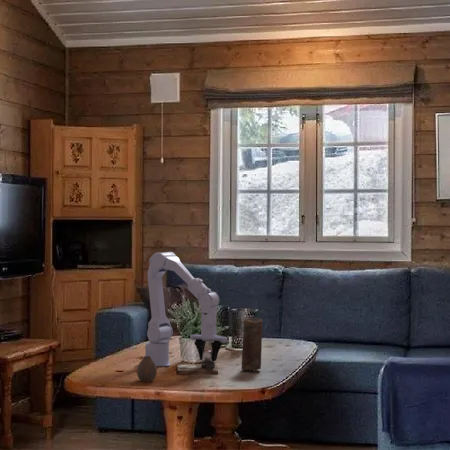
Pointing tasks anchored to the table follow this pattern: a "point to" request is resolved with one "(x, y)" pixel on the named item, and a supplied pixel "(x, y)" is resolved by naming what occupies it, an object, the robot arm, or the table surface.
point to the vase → (146, 369)
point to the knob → (207, 356)
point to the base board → (198, 368)
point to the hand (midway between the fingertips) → (208, 360)
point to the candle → (252, 344)
